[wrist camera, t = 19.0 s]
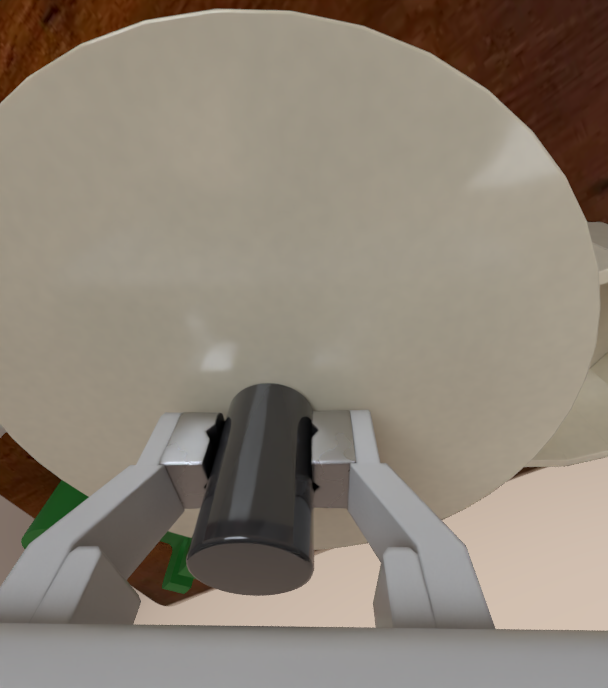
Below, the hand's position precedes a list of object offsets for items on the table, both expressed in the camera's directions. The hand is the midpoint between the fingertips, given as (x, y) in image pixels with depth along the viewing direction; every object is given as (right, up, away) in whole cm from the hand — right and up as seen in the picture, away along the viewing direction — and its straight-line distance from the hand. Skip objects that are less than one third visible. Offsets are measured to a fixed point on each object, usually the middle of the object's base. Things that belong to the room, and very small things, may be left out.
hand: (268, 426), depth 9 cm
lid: (0, +1, +1) cm, 1 cm away
